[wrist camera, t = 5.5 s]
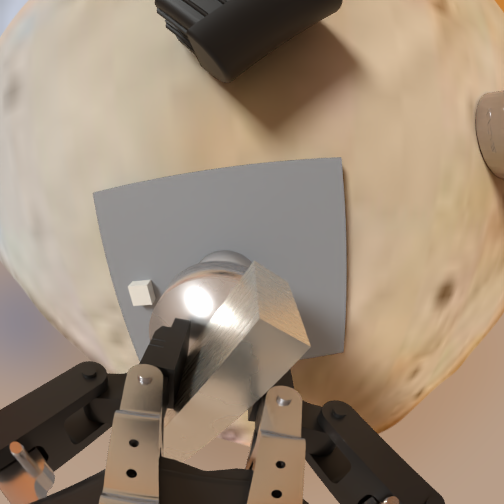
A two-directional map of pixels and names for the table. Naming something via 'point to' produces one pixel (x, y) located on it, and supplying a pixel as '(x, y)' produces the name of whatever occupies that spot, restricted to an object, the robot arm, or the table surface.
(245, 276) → the lock knob
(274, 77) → the table surface
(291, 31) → the end cap
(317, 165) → the base
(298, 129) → the table surface
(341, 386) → the table surface
